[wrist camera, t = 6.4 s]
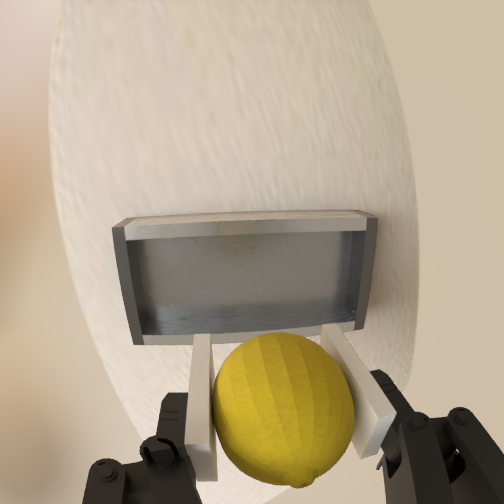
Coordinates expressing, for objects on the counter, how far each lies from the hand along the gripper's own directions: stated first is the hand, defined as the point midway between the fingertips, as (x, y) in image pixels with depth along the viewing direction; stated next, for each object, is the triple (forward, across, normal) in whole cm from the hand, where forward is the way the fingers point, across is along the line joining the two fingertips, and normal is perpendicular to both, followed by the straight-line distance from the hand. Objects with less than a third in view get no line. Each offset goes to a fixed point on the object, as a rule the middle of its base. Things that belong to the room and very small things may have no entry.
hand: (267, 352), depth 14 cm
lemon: (+1, 0, 0) cm, 1 cm away
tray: (+12, 0, 0) cm, 12 cm away
